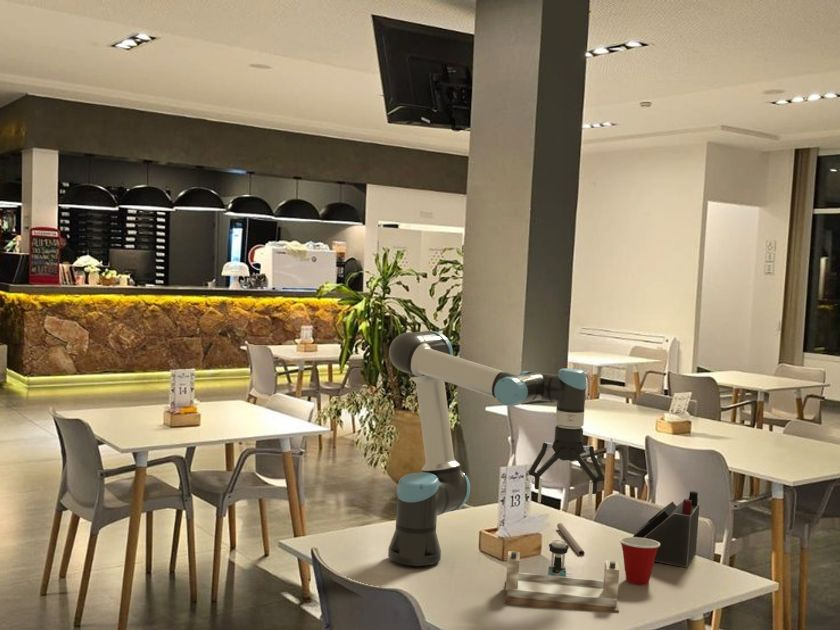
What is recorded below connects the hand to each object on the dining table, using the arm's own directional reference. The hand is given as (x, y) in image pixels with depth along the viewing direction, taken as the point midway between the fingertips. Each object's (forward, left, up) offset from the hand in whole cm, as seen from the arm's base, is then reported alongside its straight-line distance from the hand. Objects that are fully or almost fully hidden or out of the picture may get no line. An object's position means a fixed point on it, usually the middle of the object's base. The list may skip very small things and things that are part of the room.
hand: (564, 503), depth 244 cm
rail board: (0, -15, -21) cm, 25 cm away
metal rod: (+4, +34, -21) cm, 41 cm away
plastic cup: (+21, +1, -21) cm, 30 cm away
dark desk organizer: (+31, +25, -21) cm, 45 cm away
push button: (0, -1, -21) cm, 21 cm away
